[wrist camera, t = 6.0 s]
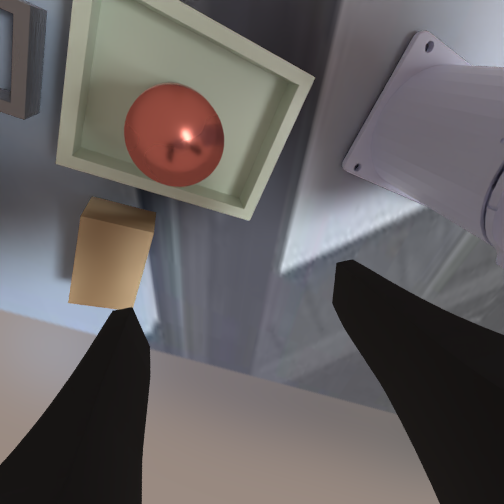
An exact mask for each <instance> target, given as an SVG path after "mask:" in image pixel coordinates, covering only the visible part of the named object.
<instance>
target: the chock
mask: <svg viewBox="0 0 504 504" xmlns="http://www.w3.org/2000/svg"><path fill="white" fill-rule="evenodd" d="M155 218H156V212H152V211H148V210H144V209H140V208H136V207H132V206H129V205H125V204H121V203H117V202H113V201H109V200H105V199H101V198H97V197H94V196H92V197H91V199H90V201H89V202H88V204H87V206H86V208H85V209H84V211H83V213H82V215H81V217H80V224H79V231H78V238H77V245H76V252H75V259H74V266H73V273H72V280H71V287H70V294H69V301H68V303H72V304H80V305H88V306H96V307H103V308H111V309H119V310H120V309H124V308H129V307H132V308H133V306H134V302H135V299H136V295H137V292H138V288H139V284H140V281H141V277H142V274H143V270H144V266H145V263H146V259H147V256H148V252H149V249H150V245H151V241H152V238H153V234H154V227H155Z"/></svg>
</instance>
